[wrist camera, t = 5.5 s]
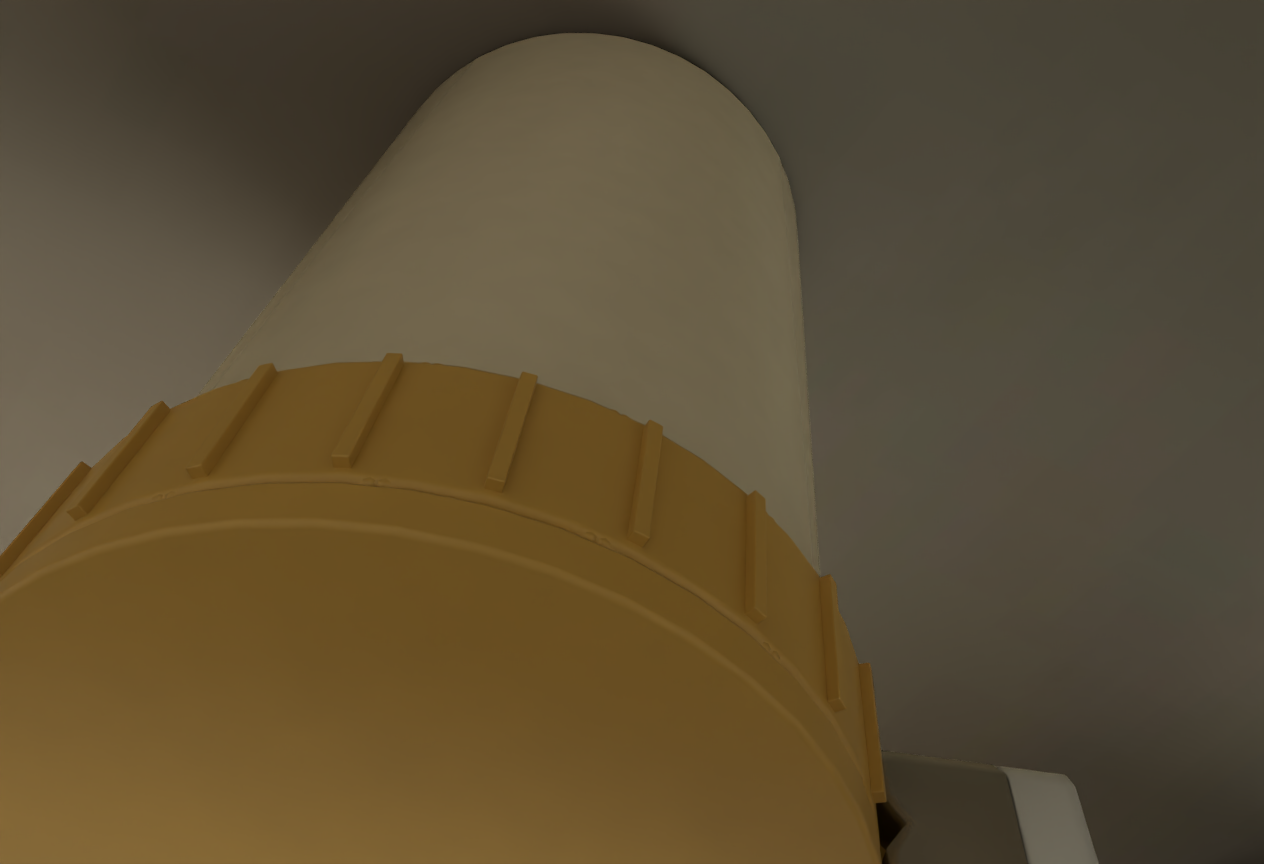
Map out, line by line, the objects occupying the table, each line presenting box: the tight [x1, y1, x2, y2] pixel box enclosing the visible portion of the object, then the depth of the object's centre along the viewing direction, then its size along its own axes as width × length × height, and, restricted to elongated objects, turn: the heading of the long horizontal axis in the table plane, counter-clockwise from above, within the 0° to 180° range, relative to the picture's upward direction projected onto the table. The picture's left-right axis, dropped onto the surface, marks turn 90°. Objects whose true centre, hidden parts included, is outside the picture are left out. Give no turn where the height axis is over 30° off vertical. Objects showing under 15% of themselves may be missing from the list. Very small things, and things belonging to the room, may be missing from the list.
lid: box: [0, 353, 887, 864], centre depth 9 cm, size 7×7×2 cm
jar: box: [197, 33, 820, 577], centre depth 13 cm, size 6×6×10 cm
